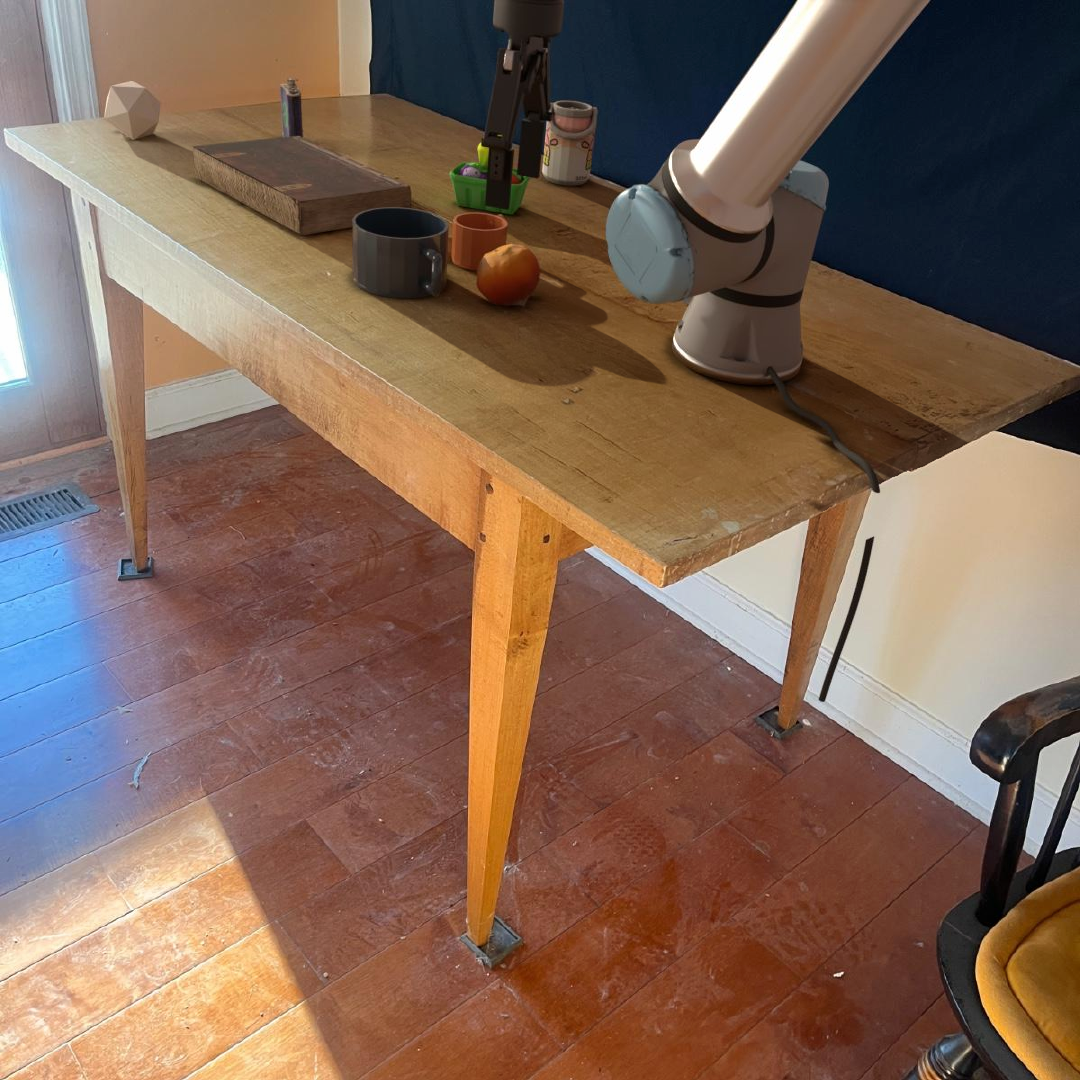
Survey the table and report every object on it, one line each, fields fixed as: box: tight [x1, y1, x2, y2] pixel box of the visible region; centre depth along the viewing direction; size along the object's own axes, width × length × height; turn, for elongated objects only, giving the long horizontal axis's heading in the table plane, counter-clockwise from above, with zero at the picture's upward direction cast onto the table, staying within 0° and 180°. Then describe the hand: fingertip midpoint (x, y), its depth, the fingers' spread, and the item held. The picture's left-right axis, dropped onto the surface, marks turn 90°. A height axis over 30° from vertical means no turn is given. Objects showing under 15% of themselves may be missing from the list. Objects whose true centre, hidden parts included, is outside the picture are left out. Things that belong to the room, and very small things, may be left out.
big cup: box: [351, 207, 450, 299], centre depth 129 cm, size 15×12×8 cm
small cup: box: [451, 211, 509, 272], centre depth 140 cm, size 10×7×6 cm
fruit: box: [476, 243, 541, 308], centre depth 129 cm, size 8×8×8 cm
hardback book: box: [192, 136, 412, 236], centre depth 154 cm, size 29×19×5 cm, turn 44°
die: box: [103, 80, 162, 141], centre depth 171 cm, size 8×9×10 cm
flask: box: [279, 77, 304, 138], centre depth 175 cm, size 9×3×11 cm, turn 21°
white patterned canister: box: [541, 100, 599, 187], centre depth 172 cm, size 9×8×12 cm
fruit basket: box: [449, 135, 531, 216], centre depth 158 cm, size 11×9×11 cm
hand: (513, 191), depth 123 cm, fingers open, 13 cm apart
